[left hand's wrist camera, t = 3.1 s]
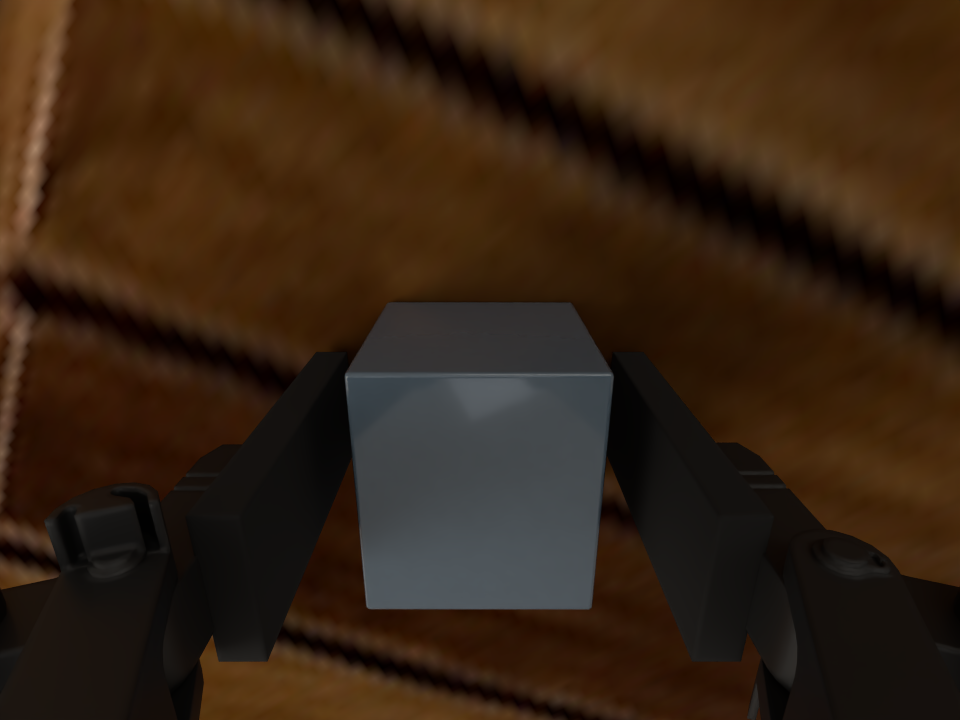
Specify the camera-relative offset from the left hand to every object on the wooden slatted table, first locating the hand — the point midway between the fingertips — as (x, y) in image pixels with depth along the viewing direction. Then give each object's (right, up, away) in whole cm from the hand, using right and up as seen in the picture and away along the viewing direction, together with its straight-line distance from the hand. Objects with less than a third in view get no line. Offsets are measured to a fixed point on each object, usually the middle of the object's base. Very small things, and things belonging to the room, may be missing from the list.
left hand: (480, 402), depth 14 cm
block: (0, 0, 0) cm, 0 cm away
